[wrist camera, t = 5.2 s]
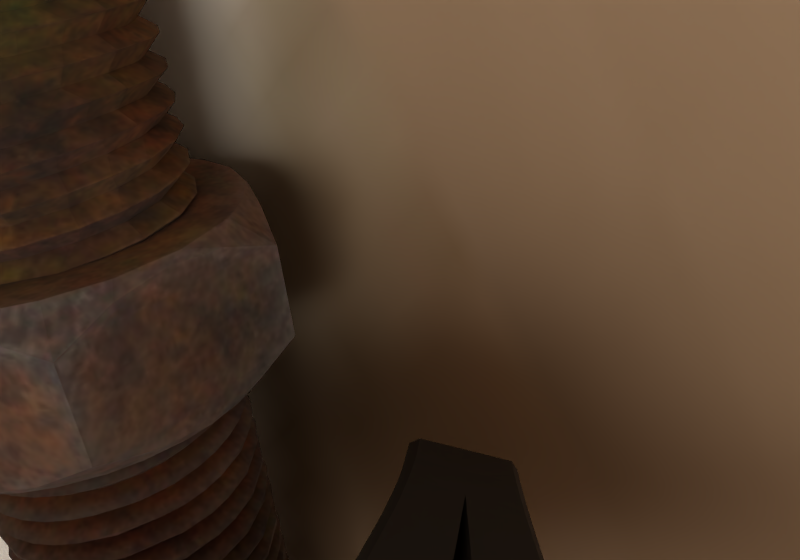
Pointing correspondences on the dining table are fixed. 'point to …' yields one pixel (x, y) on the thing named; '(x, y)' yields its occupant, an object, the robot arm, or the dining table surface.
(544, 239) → the dining table surface
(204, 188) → the bolt
